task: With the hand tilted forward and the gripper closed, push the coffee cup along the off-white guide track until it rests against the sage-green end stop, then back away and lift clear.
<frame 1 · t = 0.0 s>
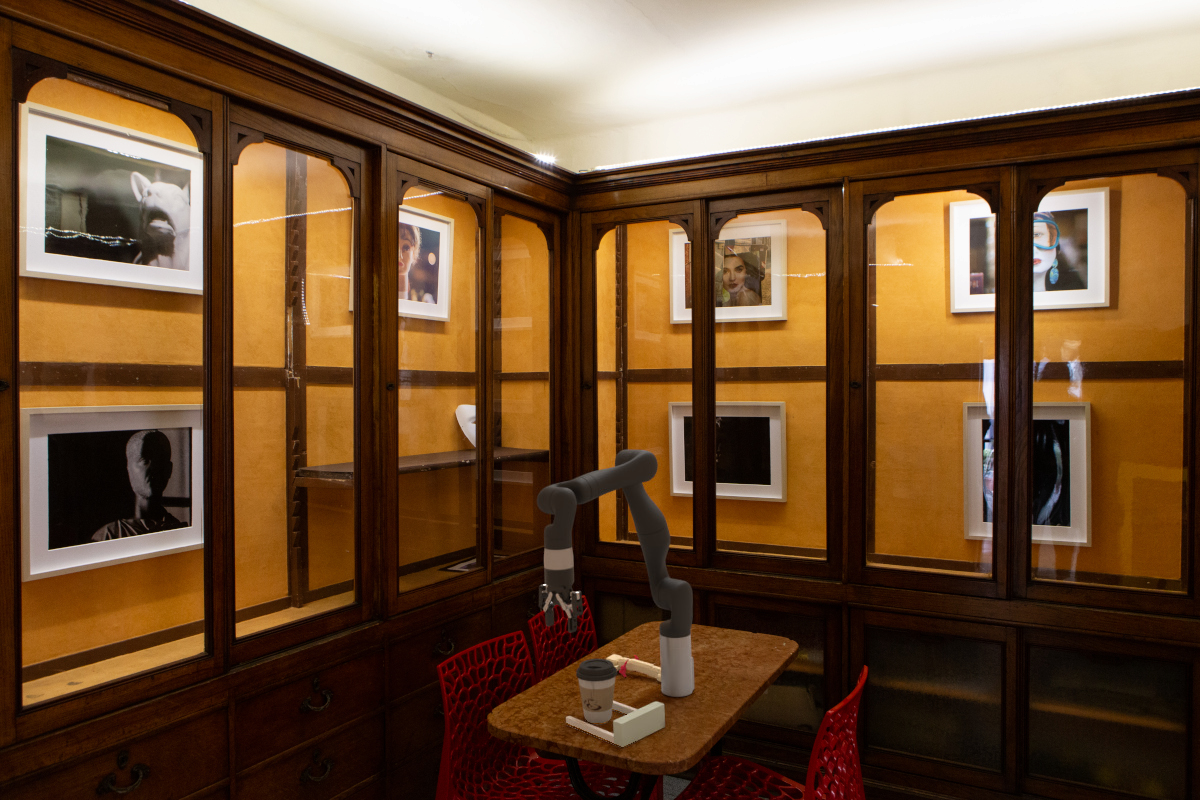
hand: (561, 628, 193), 29 cm above the table, tool pointing down, fingers open, 8 cm apart
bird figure: (637, 677, 239), on the table
coffee cup: (598, 719, 207), on the table
guide track: (608, 723, 204), on the table
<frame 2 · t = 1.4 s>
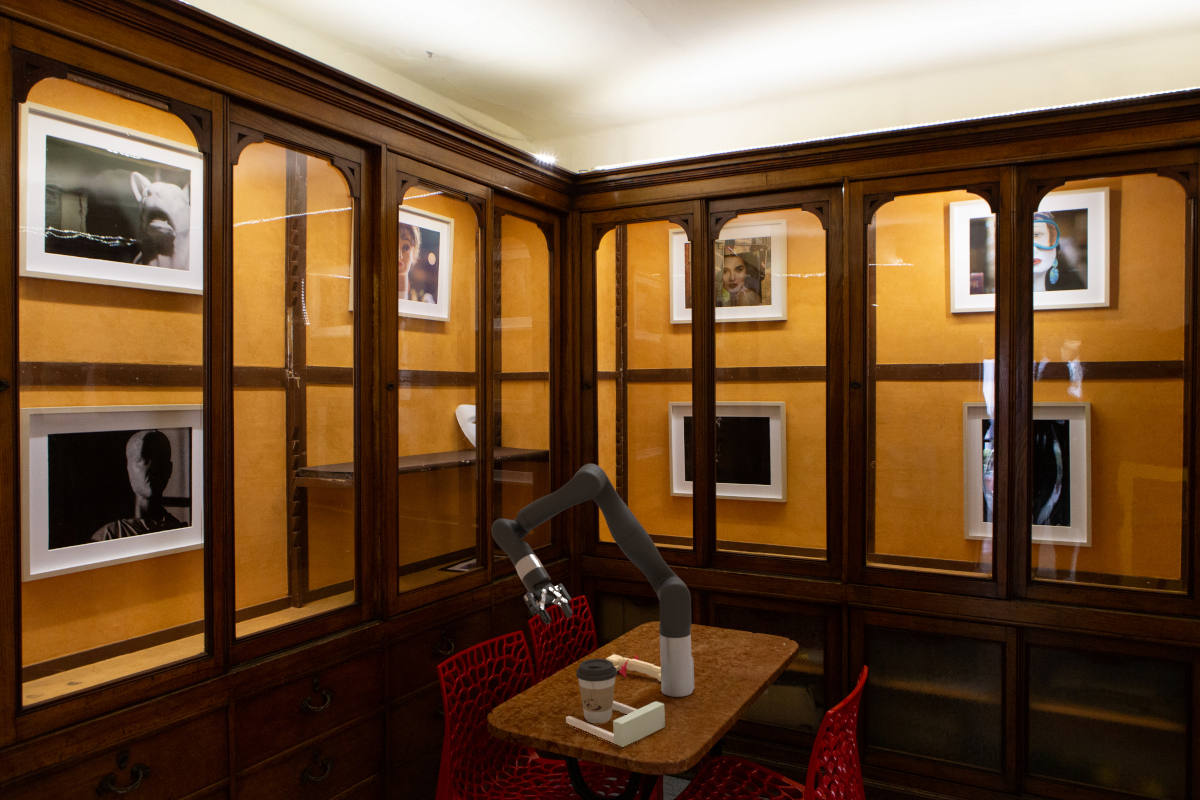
hand: (559, 619, 217), 25 cm above the table, tool tilted 45°, fingers open, 7 cm apart
nothing on the table moved.
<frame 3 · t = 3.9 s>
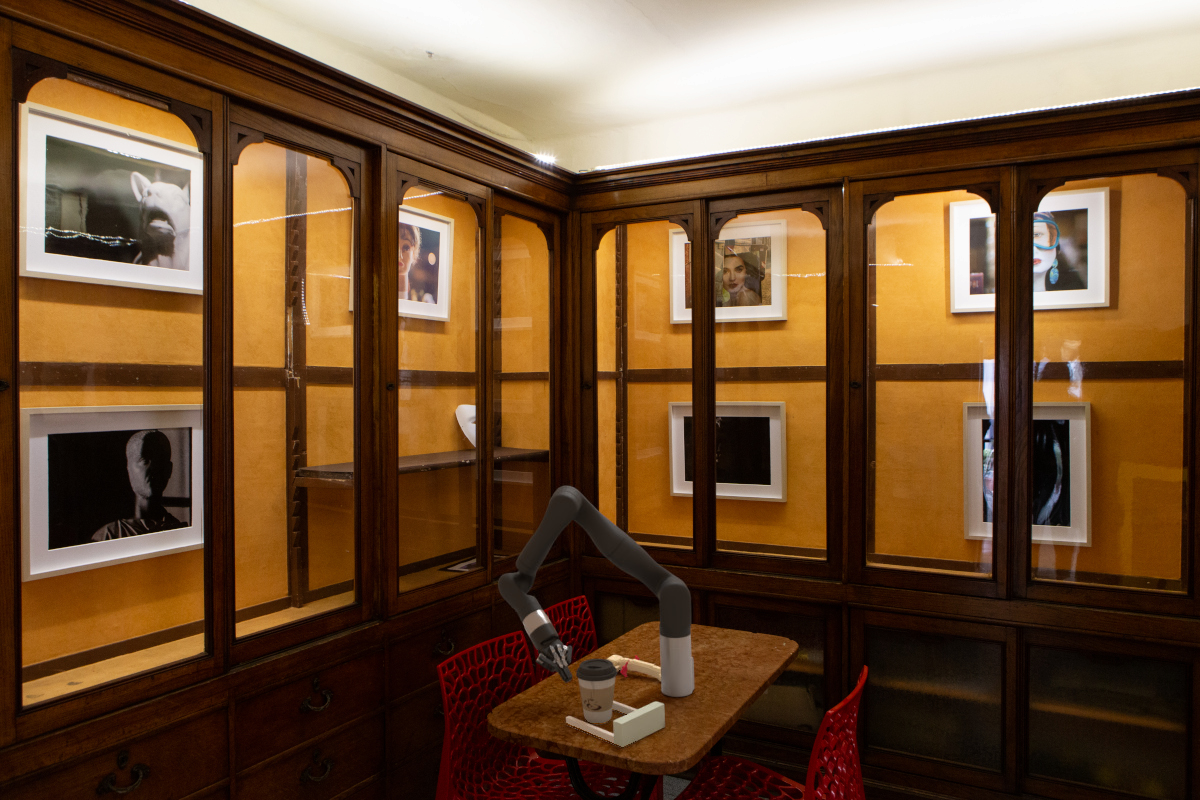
hand: (569, 680, 215), 8 cm above the table, tool tilted 45°, fingers closed
nothing on the table moved.
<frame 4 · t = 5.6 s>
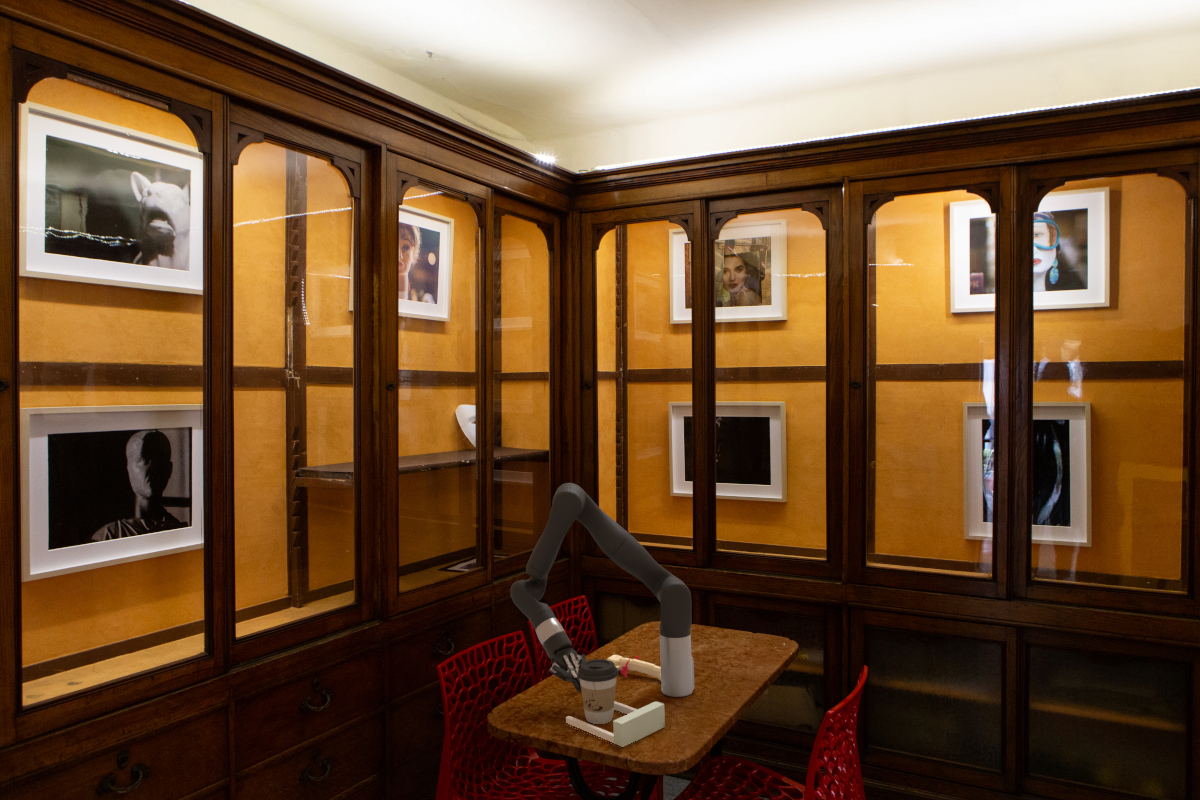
hand: (583, 690, 211), 6 cm above the table, tool tilted 45°, fingers closed
coffee cup: (599, 720, 206), on the table, touching gripper
everything else where it was.
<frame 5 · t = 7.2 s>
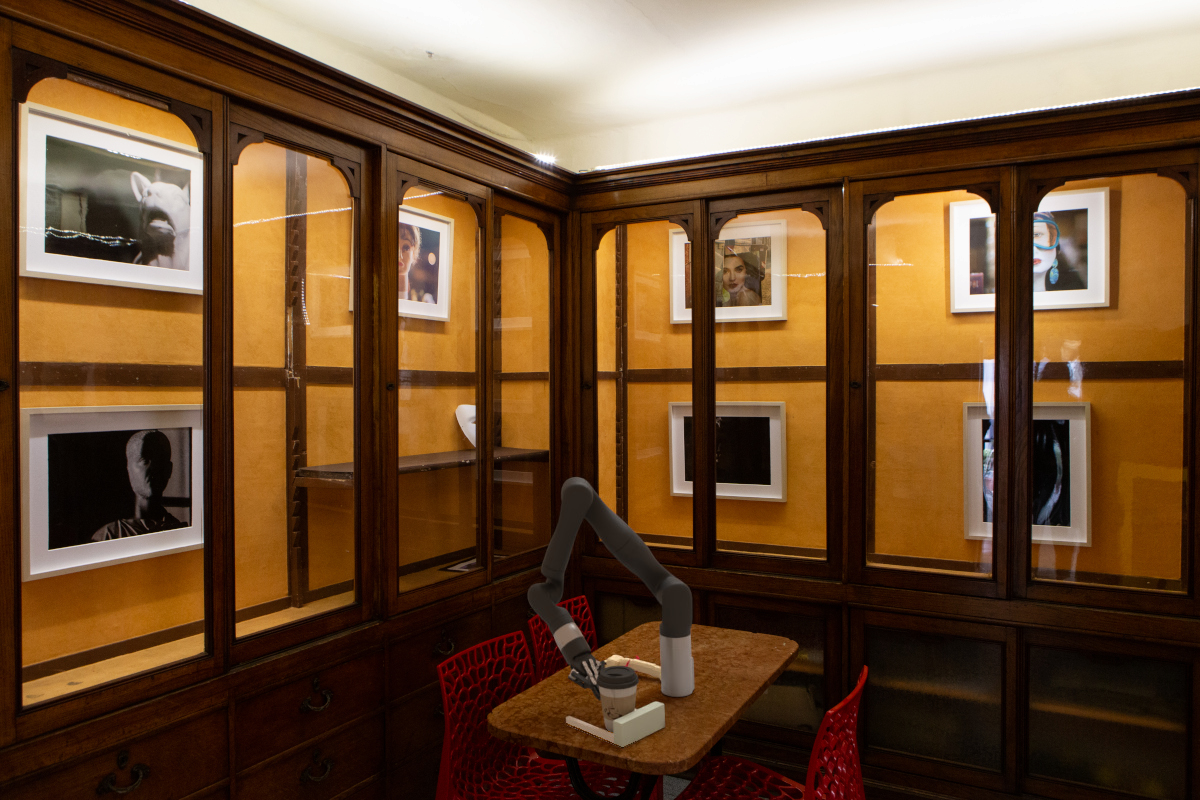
hand: (602, 698, 205), 6 cm above the table, tool tilted 45°, fingers closed
coffee cup: (619, 728, 201), on the table, touching gripper, guide track
everything else where it was.
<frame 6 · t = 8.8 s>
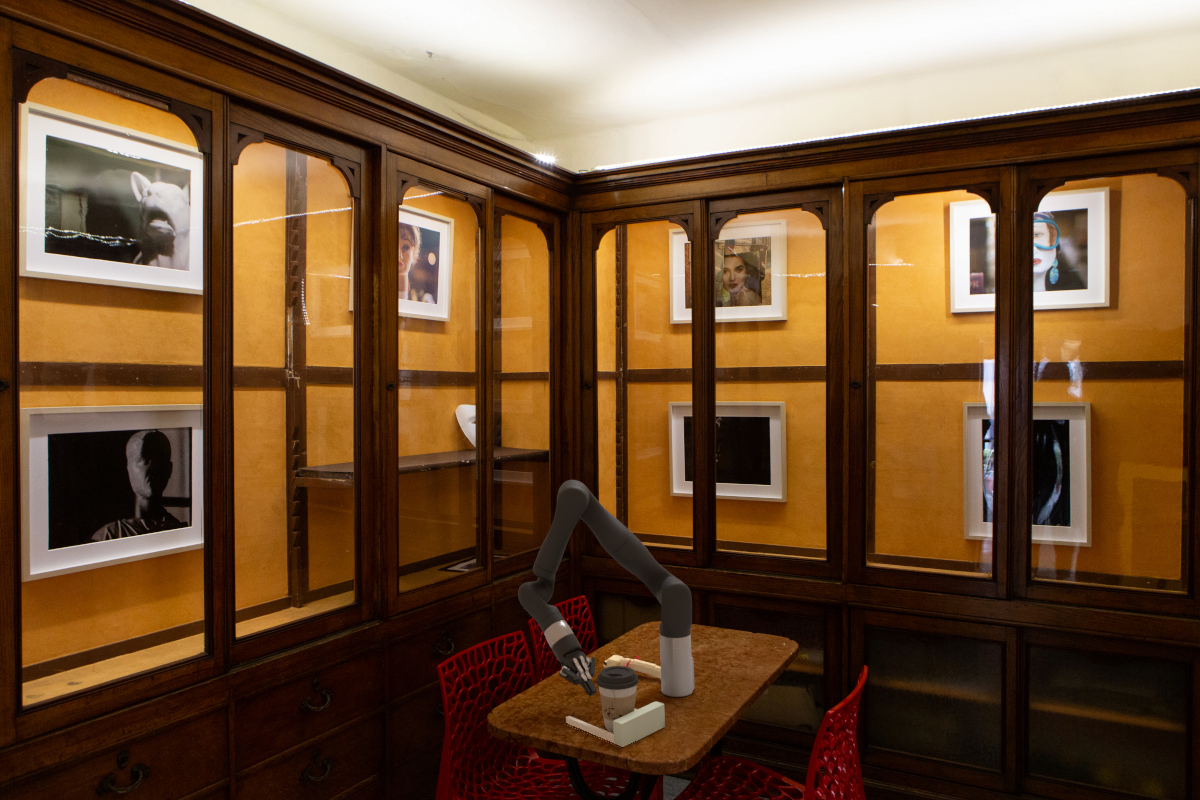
hand: (593, 694, 208), 7 cm above the table, tool tilted 45°, fingers closed
coffee cup: (619, 729, 201), on the table
everything else where it was.
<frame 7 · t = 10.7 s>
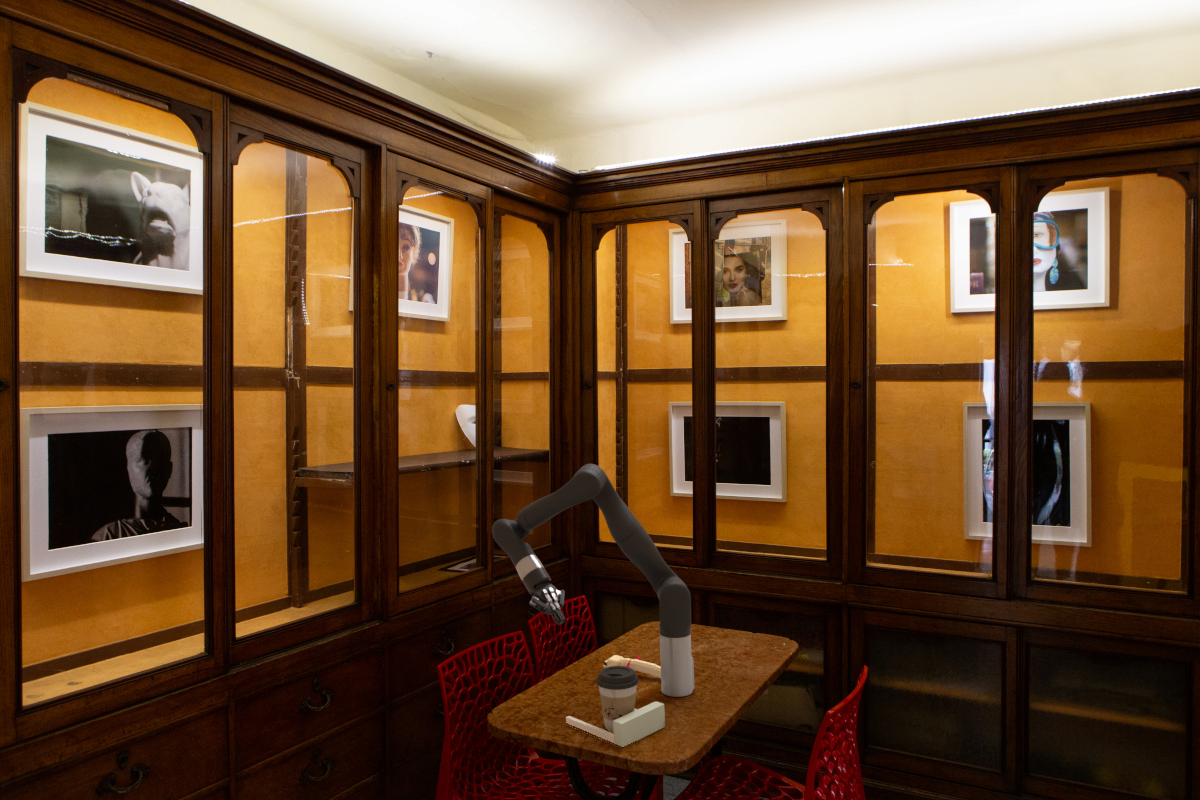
hand: (562, 622, 217), 24 cm above the table, tool tilted 45°, fingers closed
nothing on the table moved.
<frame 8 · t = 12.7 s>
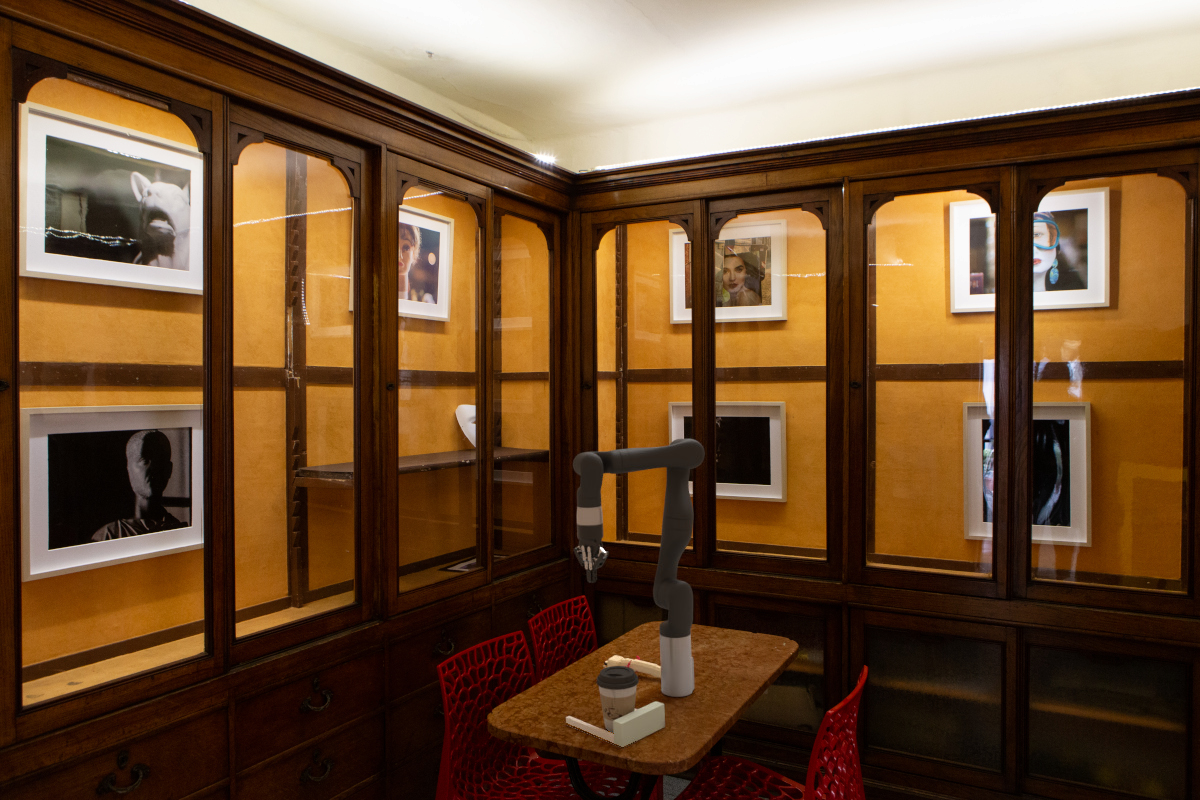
hand: (591, 582, 218), 35 cm above the table, tool pointing down, fingers closed
at the end: coffee cup 0.6 cm from the target spot, on the table; coffee cup tilted 0°; the gripper is holding nothing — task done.
